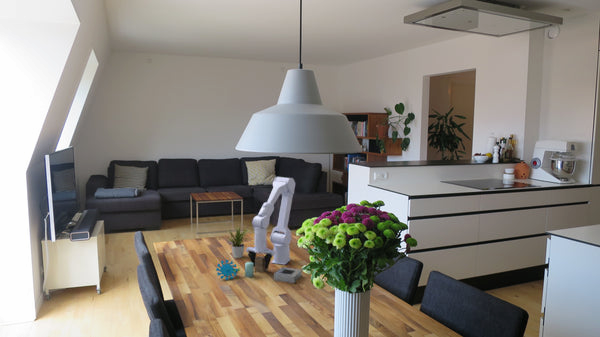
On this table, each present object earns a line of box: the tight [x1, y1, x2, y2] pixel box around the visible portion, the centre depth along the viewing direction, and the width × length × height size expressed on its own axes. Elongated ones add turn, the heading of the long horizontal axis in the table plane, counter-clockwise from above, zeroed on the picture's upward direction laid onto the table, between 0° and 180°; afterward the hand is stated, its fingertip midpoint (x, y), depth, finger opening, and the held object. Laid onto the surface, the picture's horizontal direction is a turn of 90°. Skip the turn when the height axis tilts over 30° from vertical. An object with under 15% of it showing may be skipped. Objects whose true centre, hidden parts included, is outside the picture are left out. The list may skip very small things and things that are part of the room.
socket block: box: [273, 266, 303, 284], centre depth 204 cm, size 10×10×3 cm
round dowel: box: [244, 261, 255, 278], centre depth 206 cm, size 4×4×6 cm
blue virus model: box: [215, 259, 241, 281], centre depth 204 cm, size 11×6×10 cm
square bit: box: [254, 255, 267, 274], centre depth 212 cm, size 4×4×6 cm
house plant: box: [227, 227, 251, 259], centre depth 232 cm, size 14×14×16 cm
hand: (260, 267), depth 213 cm, fingers open, 6 cm apart
